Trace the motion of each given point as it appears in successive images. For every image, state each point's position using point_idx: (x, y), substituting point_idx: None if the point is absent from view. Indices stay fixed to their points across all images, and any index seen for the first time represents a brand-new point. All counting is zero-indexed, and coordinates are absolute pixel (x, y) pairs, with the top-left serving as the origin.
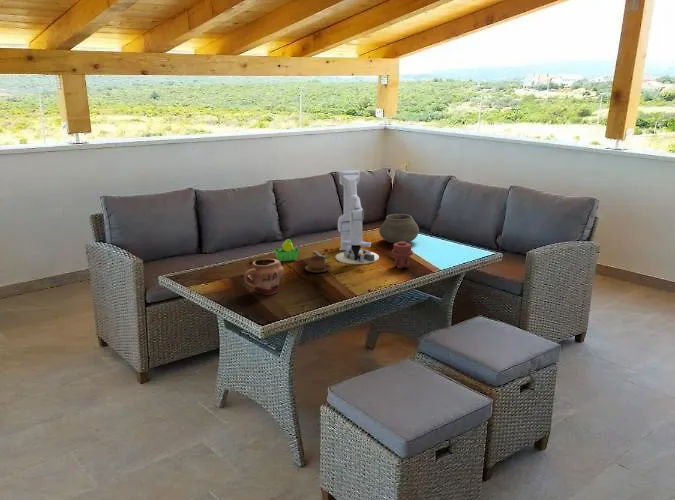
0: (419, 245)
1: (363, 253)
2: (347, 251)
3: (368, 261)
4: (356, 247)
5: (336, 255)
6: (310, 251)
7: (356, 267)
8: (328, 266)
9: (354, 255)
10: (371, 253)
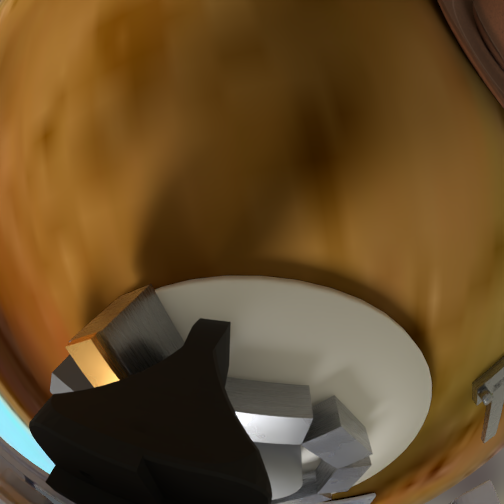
0: None
1: None
2: (338, 478)
3: None
4: (68, 445)
5: (417, 430)
6: (499, 428)
7: (177, 144)
8: (473, 56)
9: (214, 354)
10: None
